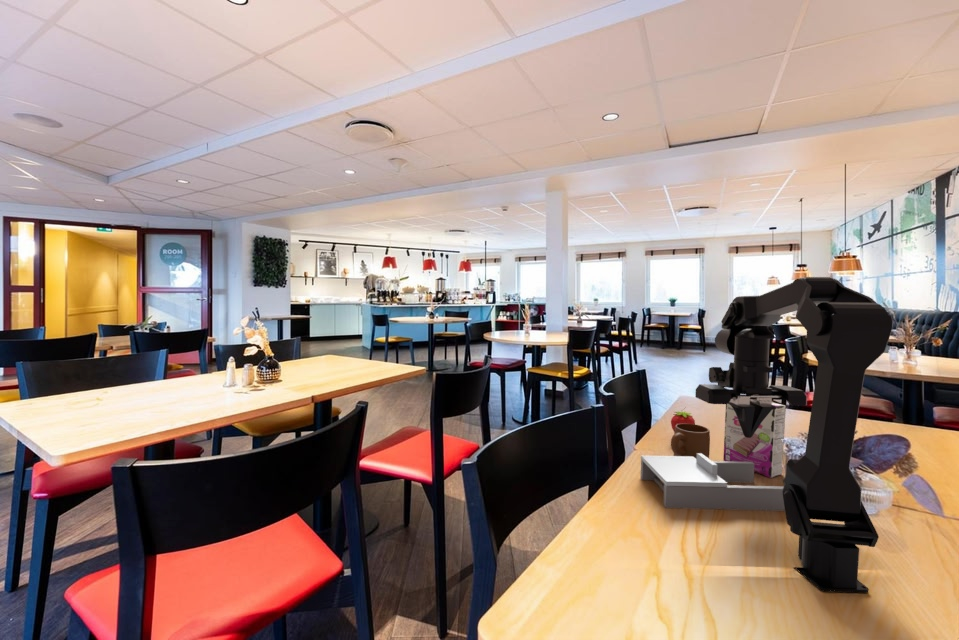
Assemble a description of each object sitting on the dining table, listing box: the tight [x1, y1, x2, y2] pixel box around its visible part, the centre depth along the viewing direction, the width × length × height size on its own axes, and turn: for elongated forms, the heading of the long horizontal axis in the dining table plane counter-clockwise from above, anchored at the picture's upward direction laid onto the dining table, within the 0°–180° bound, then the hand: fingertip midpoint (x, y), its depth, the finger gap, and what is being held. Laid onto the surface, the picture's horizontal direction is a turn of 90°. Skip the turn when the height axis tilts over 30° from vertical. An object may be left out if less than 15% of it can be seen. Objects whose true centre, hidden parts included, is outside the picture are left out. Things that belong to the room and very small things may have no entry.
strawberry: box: [670, 406, 696, 433], centre depth 115 cm, size 6×8×10 cm
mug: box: [670, 423, 711, 459], centre depth 96 cm, size 12×8×9 cm, turn 124°
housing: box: [640, 459, 785, 512], centre depth 82 cm, size 13×24×5 cm, turn 88°
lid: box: [640, 453, 728, 487], centre depth 82 cm, size 13×11×3 cm
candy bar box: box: [722, 402, 787, 479], centre depth 97 cm, size 11×5×16 cm, turn 27°
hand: (747, 437), depth 81 cm, fingers closed
